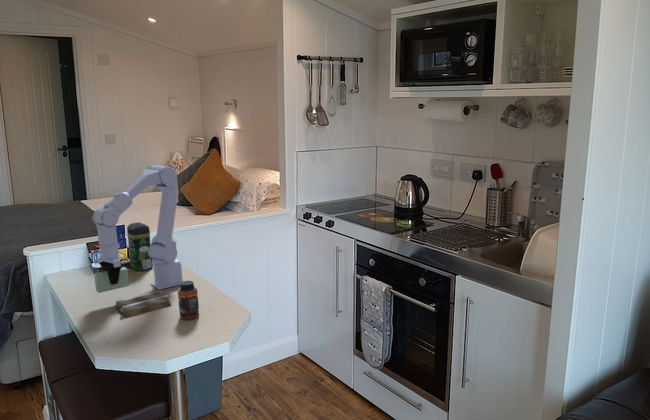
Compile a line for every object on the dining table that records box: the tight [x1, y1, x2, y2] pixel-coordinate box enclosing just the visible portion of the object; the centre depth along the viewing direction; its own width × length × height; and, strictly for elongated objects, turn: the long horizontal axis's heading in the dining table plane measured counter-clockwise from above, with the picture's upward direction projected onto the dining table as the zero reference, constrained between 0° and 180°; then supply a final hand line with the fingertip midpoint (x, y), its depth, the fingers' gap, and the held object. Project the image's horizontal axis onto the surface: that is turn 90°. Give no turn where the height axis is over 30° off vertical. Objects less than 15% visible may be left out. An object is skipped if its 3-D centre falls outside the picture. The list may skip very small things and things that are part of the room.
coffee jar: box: [126, 221, 154, 272], centre depth 212 cm, size 10×8×19 cm
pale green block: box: [93, 266, 130, 294], centre depth 176 cm, size 10×3×6 cm, turn 129°
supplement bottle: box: [177, 280, 200, 321], centre depth 164 cm, size 6×6×11 cm
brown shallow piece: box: [114, 289, 172, 318], centre depth 174 cm, size 15×10×3 cm, turn 129°
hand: (112, 282), depth 176 cm, fingers closed on pale green block, 3 cm apart
